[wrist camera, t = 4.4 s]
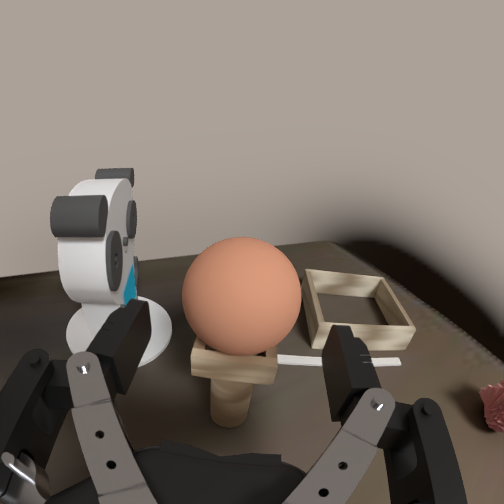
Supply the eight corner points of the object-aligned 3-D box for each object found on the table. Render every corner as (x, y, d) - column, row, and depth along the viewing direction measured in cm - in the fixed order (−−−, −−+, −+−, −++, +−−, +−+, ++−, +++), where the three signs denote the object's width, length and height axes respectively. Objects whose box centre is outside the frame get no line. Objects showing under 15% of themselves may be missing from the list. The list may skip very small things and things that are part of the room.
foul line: (224, 358, 25) (224, 356, 24) (225, 350, 25) (225, 349, 25) (400, 365, 25) (401, 364, 25) (397, 358, 26) (398, 357, 26)
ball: (172, 370, 13) (164, 264, 10) (195, 302, 18) (197, 215, 16) (292, 384, 13) (323, 283, 10) (286, 313, 18) (304, 227, 16)
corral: (311, 348, 27) (319, 325, 26) (300, 288, 37) (305, 268, 36) (405, 350, 27) (416, 329, 26) (376, 295, 37) (383, 277, 36)
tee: (195, 432, 17) (190, 355, 13) (204, 388, 21) (205, 305, 17) (256, 439, 17) (277, 366, 13) (258, 394, 21) (275, 314, 17)
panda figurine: (171, 379, 21) (160, 200, 15) (52, 369, 19) (0, 204, 12) (173, 298, 32) (173, 166, 25) (83, 295, 29) (66, 168, 23)
